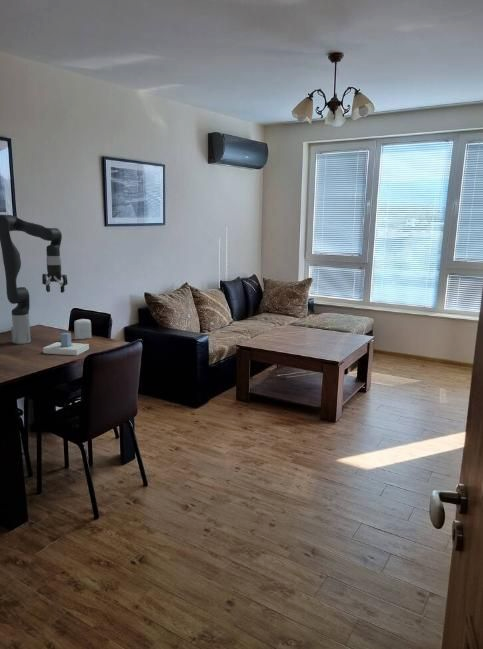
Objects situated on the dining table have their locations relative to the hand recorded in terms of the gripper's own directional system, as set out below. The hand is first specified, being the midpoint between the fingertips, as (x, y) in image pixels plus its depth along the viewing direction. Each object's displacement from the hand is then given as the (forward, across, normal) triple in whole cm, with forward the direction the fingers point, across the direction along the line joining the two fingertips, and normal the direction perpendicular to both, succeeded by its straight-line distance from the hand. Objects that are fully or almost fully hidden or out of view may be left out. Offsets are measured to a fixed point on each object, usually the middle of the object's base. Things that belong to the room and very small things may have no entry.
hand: (55, 292), depth 274 cm
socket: (+32, +10, -9) cm, 35 cm away
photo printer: (+32, +4, +22) cm, 39 cm away
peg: (+31, +10, -9) cm, 34 cm away
